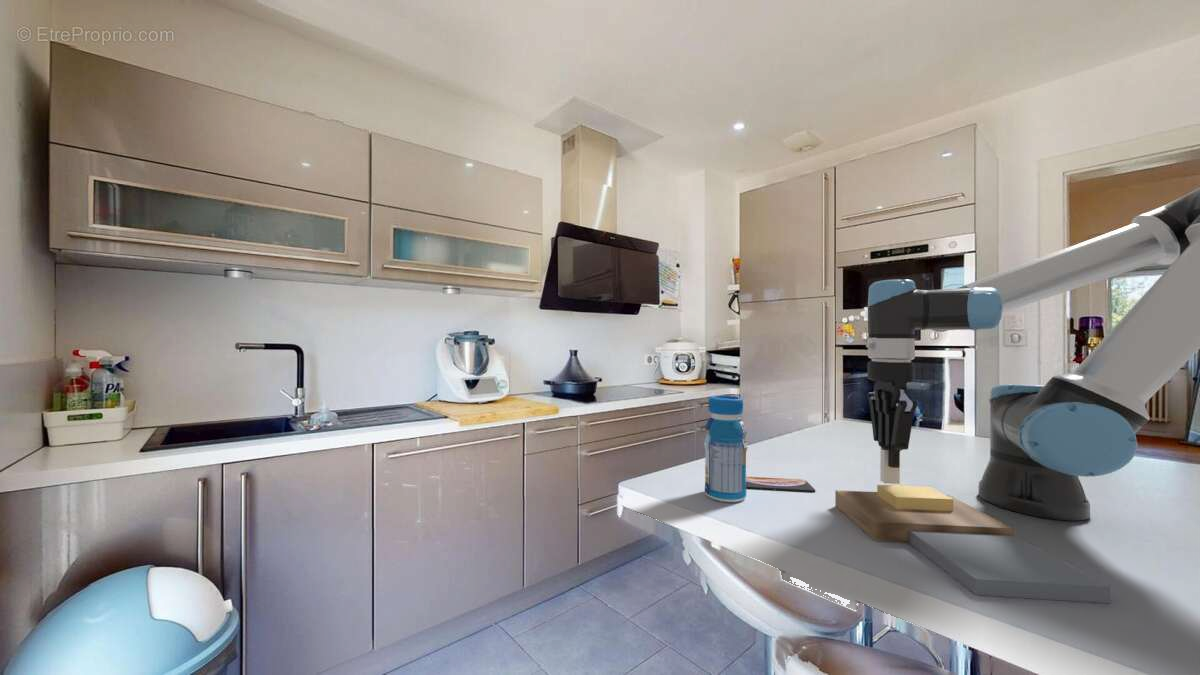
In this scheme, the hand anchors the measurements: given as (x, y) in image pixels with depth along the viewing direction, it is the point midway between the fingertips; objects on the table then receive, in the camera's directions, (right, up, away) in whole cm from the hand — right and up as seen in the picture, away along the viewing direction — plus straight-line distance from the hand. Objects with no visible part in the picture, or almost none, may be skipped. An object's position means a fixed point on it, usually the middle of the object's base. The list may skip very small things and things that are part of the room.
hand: (889, 482), depth 82 cm
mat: (-1, -4, -23) cm, 24 cm away
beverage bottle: (-31, -4, +4) cm, 31 cm away
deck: (-2, -4, -9) cm, 10 cm away
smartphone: (-18, -5, +11) cm, 21 cm away
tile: (-1, -1, -7) cm, 7 cm away
